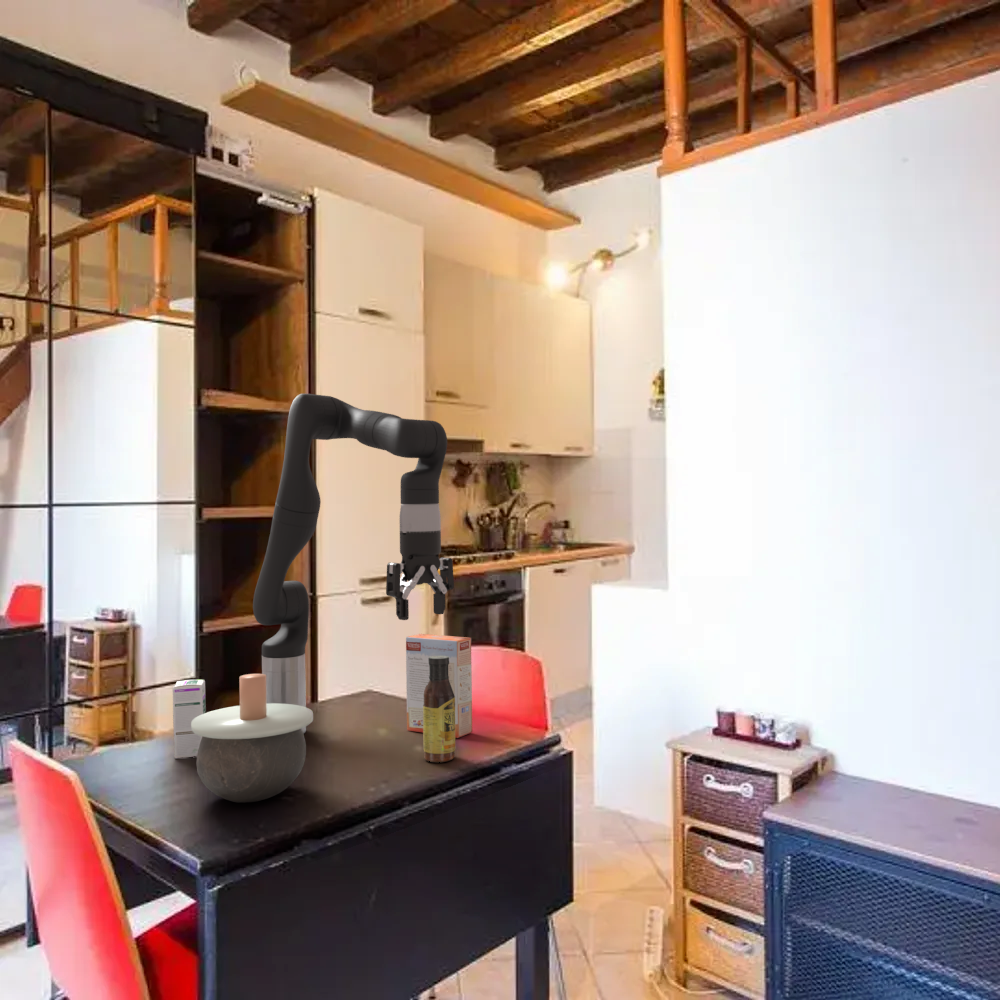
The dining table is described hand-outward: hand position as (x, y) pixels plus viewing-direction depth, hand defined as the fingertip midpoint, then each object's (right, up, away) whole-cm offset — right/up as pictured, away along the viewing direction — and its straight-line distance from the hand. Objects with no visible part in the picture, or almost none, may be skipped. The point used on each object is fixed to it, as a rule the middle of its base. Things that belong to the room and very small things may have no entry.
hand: (421, 616), depth 154 cm
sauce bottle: (+3, -29, +10) cm, 31 cm away
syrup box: (-48, -30, +15) cm, 59 cm away
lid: (-28, -17, -10) cm, 34 cm away
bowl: (-28, -30, -10) cm, 42 cm away
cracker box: (+1, -30, +29) cm, 42 cm away
